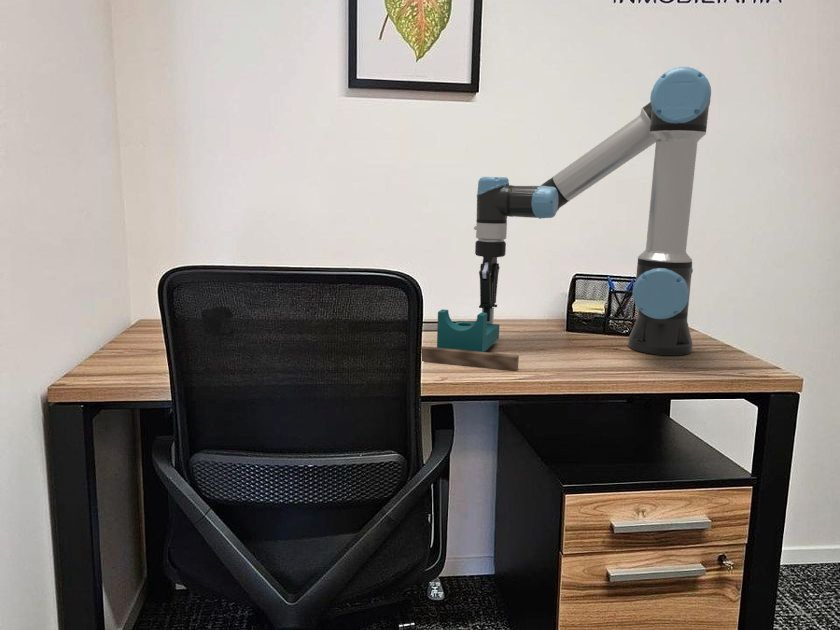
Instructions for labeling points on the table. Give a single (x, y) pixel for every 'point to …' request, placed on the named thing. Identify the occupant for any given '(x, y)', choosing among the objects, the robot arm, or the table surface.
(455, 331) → the teal notched cradle
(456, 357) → the walnut bar
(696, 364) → the table surface
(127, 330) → the table surface
